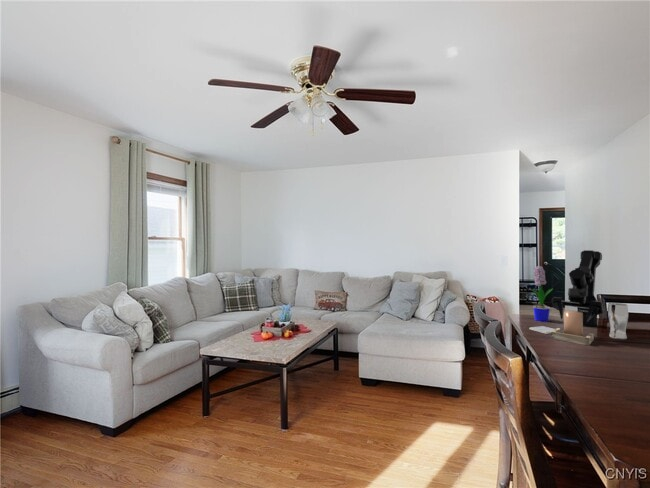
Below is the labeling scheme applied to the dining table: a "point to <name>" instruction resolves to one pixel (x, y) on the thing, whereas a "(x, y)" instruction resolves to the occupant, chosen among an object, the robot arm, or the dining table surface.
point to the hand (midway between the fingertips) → (573, 320)
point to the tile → (542, 329)
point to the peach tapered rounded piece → (573, 323)
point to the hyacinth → (540, 296)
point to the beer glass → (618, 320)
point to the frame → (572, 337)
